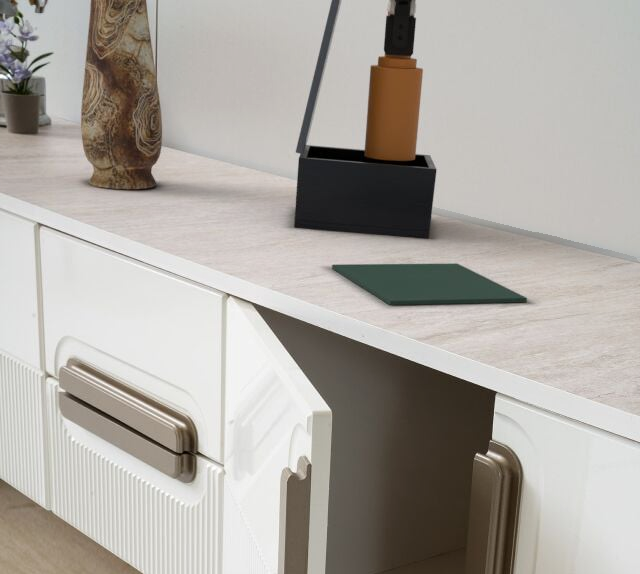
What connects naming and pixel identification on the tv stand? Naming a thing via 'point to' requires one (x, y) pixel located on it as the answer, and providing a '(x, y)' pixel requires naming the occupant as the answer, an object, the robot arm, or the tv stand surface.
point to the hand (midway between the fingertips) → (398, 52)
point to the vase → (120, 96)
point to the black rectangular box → (364, 192)
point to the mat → (426, 284)
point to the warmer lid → (318, 75)
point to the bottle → (393, 108)
